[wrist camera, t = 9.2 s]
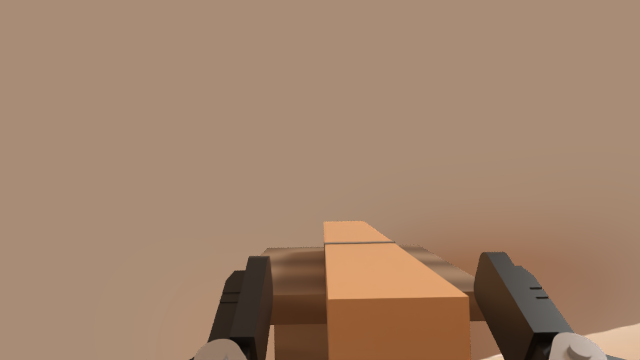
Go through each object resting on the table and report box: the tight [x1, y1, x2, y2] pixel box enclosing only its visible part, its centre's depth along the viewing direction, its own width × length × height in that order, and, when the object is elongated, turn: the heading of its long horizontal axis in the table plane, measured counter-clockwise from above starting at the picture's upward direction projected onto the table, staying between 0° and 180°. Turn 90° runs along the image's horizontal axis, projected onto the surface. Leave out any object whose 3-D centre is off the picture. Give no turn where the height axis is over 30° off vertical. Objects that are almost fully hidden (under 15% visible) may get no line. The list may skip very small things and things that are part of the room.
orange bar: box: [324, 221, 471, 360], centre depth 21 cm, size 24×4×3 cm, turn 0°
